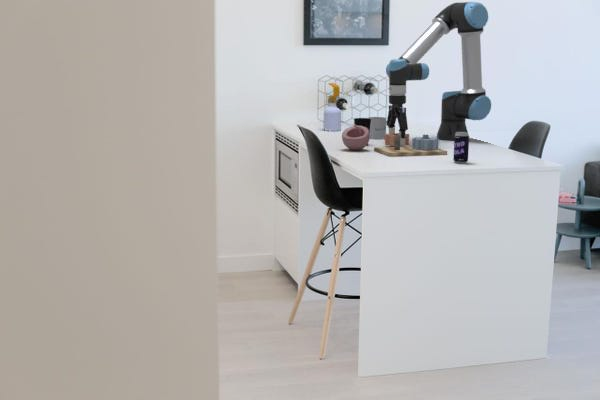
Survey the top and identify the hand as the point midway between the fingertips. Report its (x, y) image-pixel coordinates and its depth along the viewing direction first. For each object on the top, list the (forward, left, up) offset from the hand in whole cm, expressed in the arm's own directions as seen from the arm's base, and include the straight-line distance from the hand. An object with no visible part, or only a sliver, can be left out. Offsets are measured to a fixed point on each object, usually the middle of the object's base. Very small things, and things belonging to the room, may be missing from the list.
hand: (396, 143), depth 380 cm
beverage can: (-7, +49, -2) cm, 50 cm away
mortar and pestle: (+21, +5, -2) cm, 22 cm away
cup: (+12, -11, -2) cm, 17 cm away
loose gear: (0, 0, 0) cm, 0 cm away
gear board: (+1, +18, -2) cm, 18 cm away
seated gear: (-6, +18, 0) cm, 19 cm away
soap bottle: (+6, -71, -2) cm, 71 cm away
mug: (-6, -33, -2) cm, 33 cm away
